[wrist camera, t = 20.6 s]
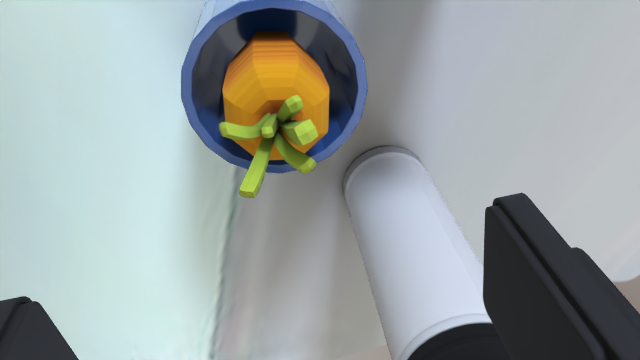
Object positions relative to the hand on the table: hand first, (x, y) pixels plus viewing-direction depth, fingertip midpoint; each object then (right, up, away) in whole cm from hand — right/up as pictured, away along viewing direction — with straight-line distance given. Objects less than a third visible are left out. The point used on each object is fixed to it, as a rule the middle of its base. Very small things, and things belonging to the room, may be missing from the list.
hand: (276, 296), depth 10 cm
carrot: (-2, +11, +20) cm, 23 cm away
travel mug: (+6, +2, +27) cm, 28 cm away
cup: (-2, +11, +20) cm, 23 cm away
